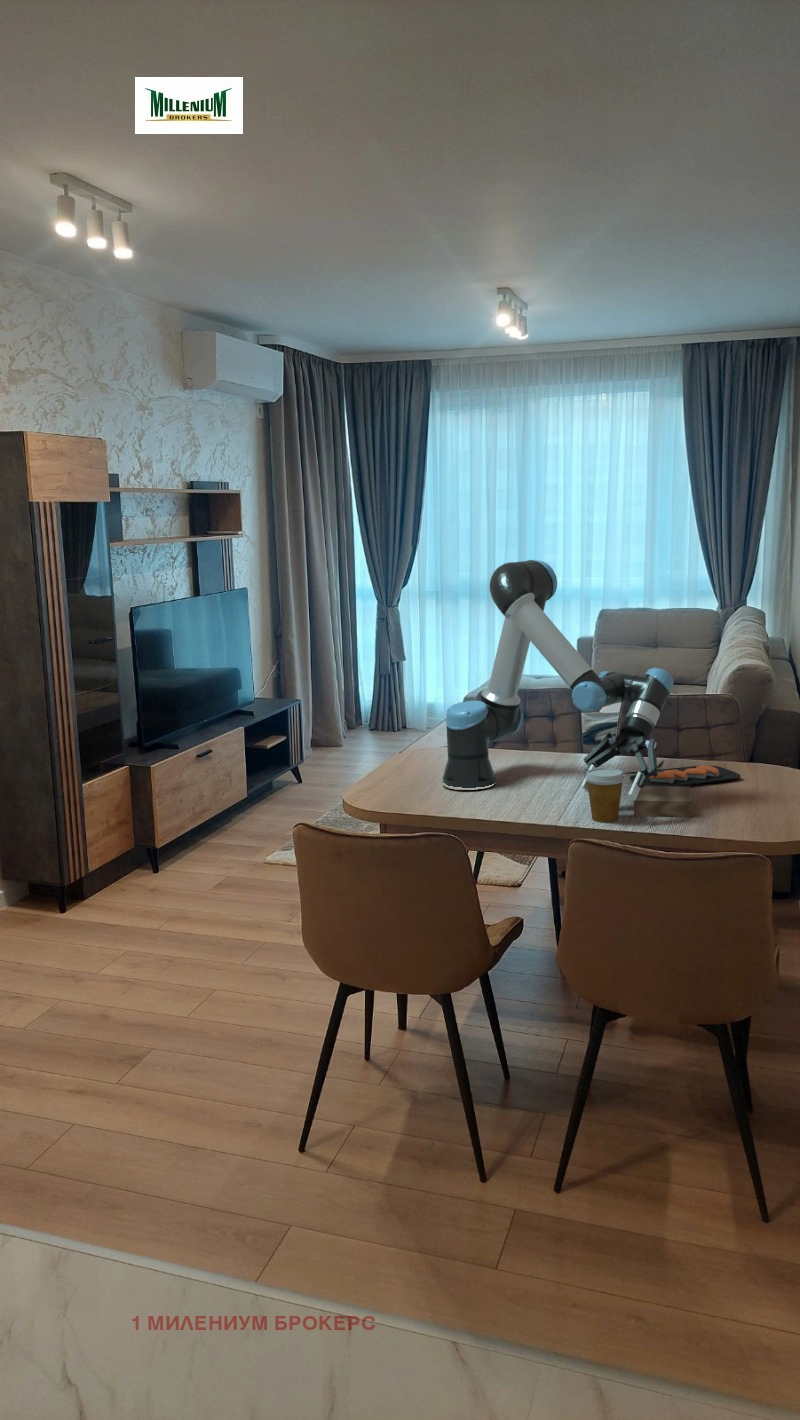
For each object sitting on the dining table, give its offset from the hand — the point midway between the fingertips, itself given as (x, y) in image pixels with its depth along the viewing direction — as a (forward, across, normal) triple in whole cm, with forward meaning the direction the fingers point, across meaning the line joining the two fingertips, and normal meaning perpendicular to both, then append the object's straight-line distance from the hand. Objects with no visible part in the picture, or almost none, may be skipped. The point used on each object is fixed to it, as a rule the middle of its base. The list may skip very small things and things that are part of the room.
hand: (607, 793), depth 244 cm
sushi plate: (-28, +10, -39) cm, 49 cm away
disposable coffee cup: (+5, +1, -5) cm, 7 cm away
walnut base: (-6, -6, -16) cm, 18 cm away
